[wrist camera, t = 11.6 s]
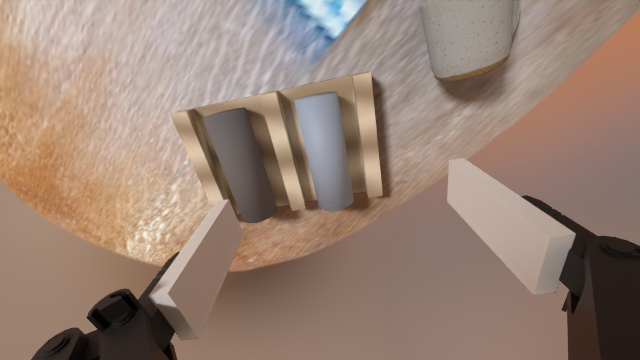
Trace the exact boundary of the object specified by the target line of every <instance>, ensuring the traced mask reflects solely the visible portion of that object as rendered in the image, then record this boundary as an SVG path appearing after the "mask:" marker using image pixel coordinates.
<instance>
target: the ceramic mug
mask: <svg viewBox="0 0 640 360" xmlns="http://www.w3.org/2000/svg"><path fill="white" fill-rule="evenodd" d="M420 11H421V16H422V21H423V26H424V32H425V37H426V42H427V47H428V52H429V59H430V64H431V68H432V71H433V73H434V76H435V77H436V78H437V79H438V80H440V81H444V82H449V81H458V80H463V79H467V78H471V77H475V76H478V75H481V74H484V73H487V72H489V71H491V70H493V69H495V68H497V67H499V66H500V65H502V64H503V63H504V62H505V61H506V60H507V59H508V57H509V54H510V51H511V45H512V35H513V33H514V31H515V29H516V27H517V24H518V20H519V14H520V0H429V1H427V2H424V3H422V4H421V5H420Z"/></svg>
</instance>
